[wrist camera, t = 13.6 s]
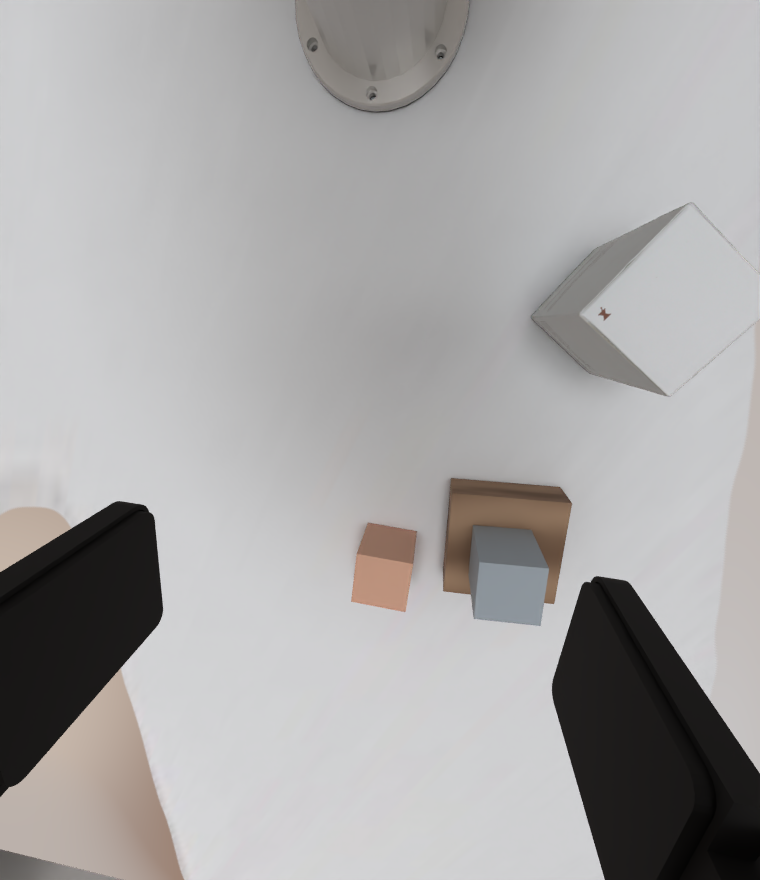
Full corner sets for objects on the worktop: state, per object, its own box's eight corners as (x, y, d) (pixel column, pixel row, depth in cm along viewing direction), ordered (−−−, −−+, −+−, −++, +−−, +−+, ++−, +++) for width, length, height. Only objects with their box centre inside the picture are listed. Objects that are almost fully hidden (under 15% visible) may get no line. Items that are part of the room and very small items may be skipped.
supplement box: (589, 376, 35) (666, 403, 23) (527, 316, 35) (574, 312, 23) (663, 308, 33) (791, 299, 21) (599, 243, 33) (692, 196, 21)
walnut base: (450, 476, 40) (452, 493, 36) (558, 485, 39) (571, 503, 35) (443, 567, 43) (443, 591, 39) (543, 578, 41) (554, 604, 38)
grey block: (472, 525, 37) (479, 562, 31) (531, 529, 36) (549, 568, 30) (468, 574, 38) (473, 618, 32) (524, 579, 37) (540, 625, 32)
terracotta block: (368, 522, 42) (356, 553, 36) (416, 531, 42) (413, 564, 36) (362, 565, 44) (351, 601, 38) (409, 573, 43) (405, 612, 37)
